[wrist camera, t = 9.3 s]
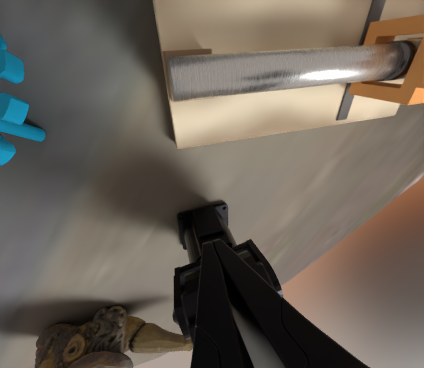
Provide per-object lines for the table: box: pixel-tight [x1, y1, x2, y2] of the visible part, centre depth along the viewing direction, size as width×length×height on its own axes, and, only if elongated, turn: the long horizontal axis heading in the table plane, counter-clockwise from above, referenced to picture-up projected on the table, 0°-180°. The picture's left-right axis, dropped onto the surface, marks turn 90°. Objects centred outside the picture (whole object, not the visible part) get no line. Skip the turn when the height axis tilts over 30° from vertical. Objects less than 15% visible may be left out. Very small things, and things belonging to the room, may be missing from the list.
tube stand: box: [153, 0, 424, 149], centre depth 16 cm, size 12×26×6 cm, turn 93°
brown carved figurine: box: [35, 306, 193, 368], centre depth 28 cm, size 9×22×10 cm, turn 90°
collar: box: [348, 15, 424, 105], centre depth 15 cm, size 5×2×7 cm, turn 2°
